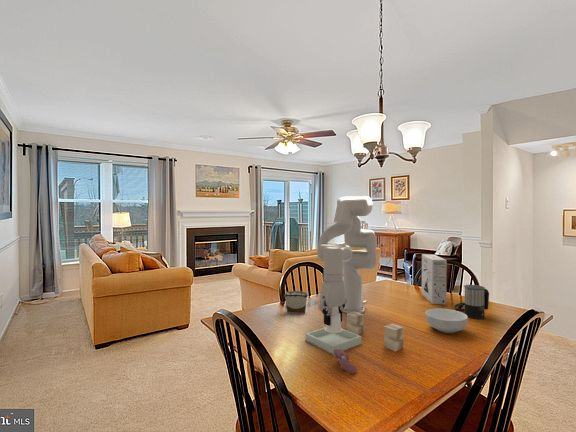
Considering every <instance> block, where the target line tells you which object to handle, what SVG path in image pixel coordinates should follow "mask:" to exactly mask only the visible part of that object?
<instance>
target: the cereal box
mask: <svg viewBox="0 0 576 432" xmlns="http://www.w3.org/2000/svg"><path fill="white" fill-rule="evenodd" d="M447 263H448V261H447V259H445V258H442V257H441V256H438V255H436V254H431V253H430V254H428V253H427V254H424V253H423V254H421V295H422V296H423V297H424V298H425V299H426V300H427V301H428V302H430V304H431V305H445V306H447V277H448V276H447V271H448V270H447V265H448V264H447Z"/></svg>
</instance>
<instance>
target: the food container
mask: <svg viewBox="0 0 576 432" xmlns="http://www.w3.org/2000/svg"><path fill="white" fill-rule="evenodd" d="M283 295H284V297H283V298H285V307H286V308H285V309H286V313H287V314H303V315H304V314H306V310H307V309H306V307H307V301H308V300H307V299H308V298H309V296H308V293H307V292H305V291H302V290H291V291H285V294H283Z"/></svg>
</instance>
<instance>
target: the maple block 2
mask: <svg viewBox="0 0 576 432" xmlns="http://www.w3.org/2000/svg"><path fill="white" fill-rule="evenodd" d="M383 348H386V349H388V350H391V351H394V352H397V351H400V350H402V349H403V348H404V327H403V326H401V325H397V324H394V323H390V324H387V325H384V326H383Z"/></svg>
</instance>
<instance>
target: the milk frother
mask: <svg viewBox="0 0 576 432" xmlns="http://www.w3.org/2000/svg"><path fill="white" fill-rule="evenodd" d="M463 287H464V302H459V303H456V304H455V305H454V310H455V311H459V312H463V313H464V314H466V315H467V317H468V319H473V320H474V319H475V320H483V319H485V318H486V316H485V311H486V310H489V303H490V301H489V300H490V292H489V290H488V289H487V288H486V287H484V285H483V286H482V285H477V284H465V285H463ZM463 307H464V308H463Z"/></svg>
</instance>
